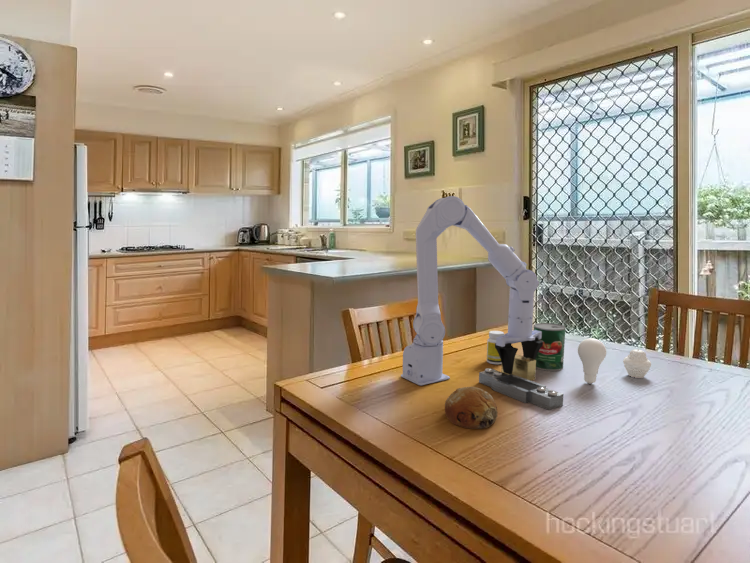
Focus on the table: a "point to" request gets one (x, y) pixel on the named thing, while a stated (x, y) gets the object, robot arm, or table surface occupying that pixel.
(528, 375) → the link
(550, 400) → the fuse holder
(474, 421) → the bread roll
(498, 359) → the supplement bottle
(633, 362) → the muffin
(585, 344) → the lightbulb
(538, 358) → the canned tomato
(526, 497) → the table surface
